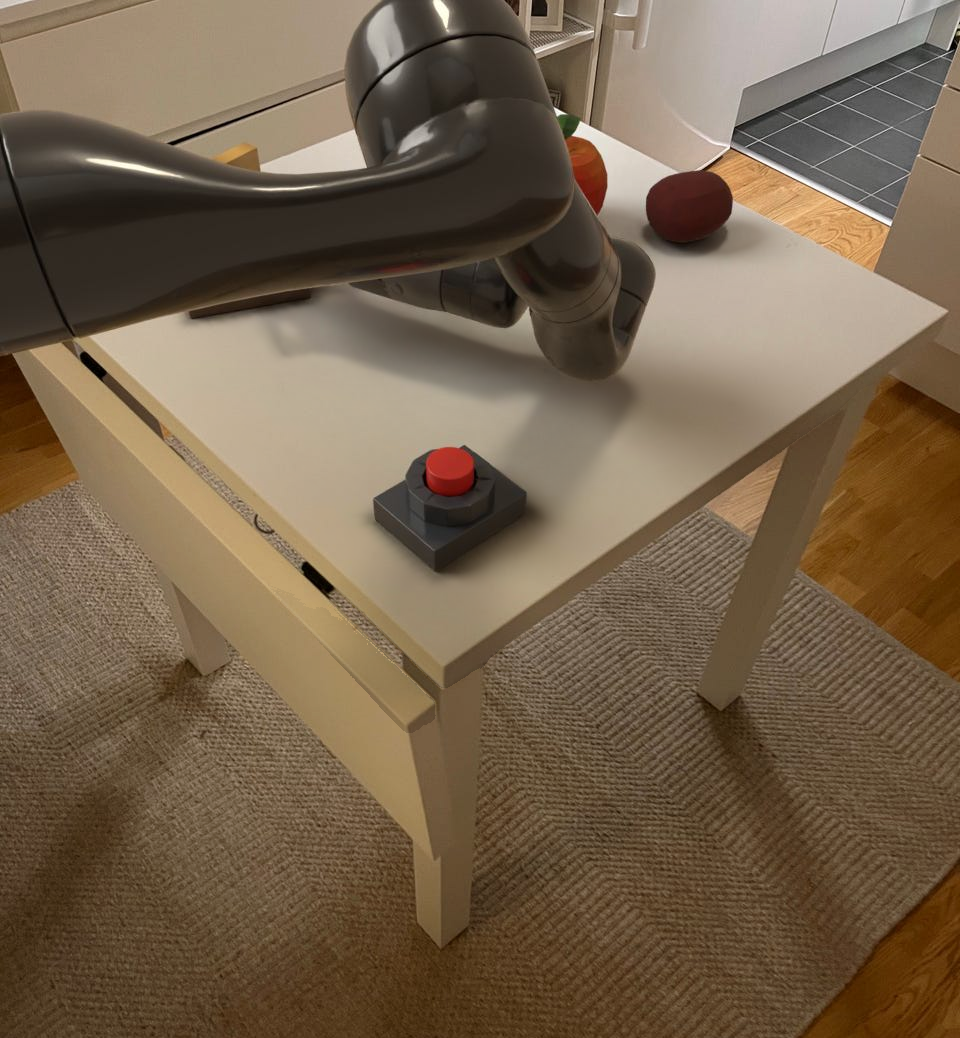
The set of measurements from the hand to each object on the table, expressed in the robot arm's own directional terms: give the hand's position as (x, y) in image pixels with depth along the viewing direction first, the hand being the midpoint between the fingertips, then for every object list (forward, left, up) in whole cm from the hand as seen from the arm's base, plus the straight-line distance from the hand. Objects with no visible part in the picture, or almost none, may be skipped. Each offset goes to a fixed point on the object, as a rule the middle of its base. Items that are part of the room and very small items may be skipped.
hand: (232, 202), depth 85 cm
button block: (+17, -30, -8) cm, 36 cm away
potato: (+43, +8, -8) cm, 44 cm away
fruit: (+30, +10, -8) cm, 32 cm away
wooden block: (-1, +4, -6) cm, 7 cm away
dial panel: (-1, +4, -8) cm, 9 cm away
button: (+17, -30, -5) cm, 35 cm away
